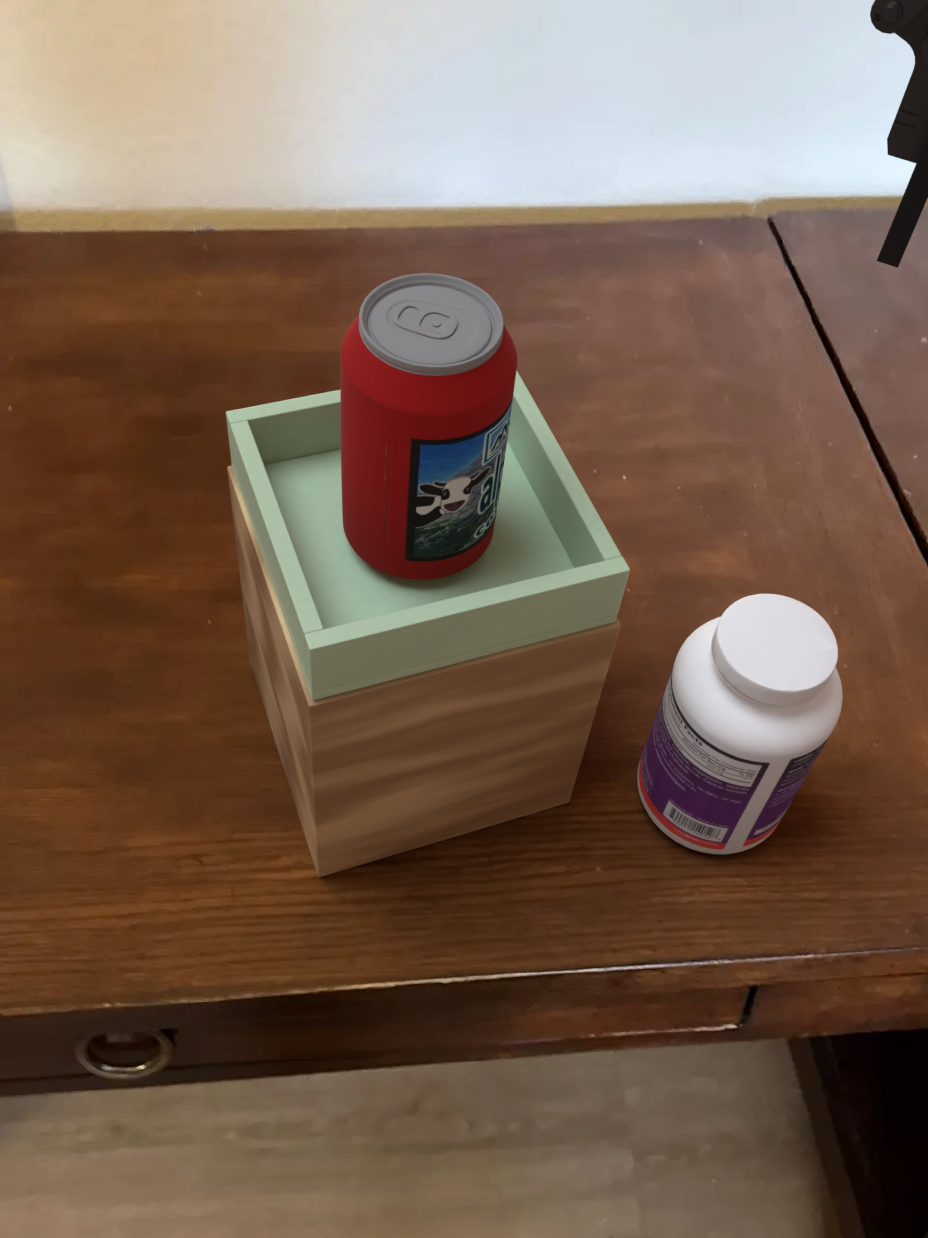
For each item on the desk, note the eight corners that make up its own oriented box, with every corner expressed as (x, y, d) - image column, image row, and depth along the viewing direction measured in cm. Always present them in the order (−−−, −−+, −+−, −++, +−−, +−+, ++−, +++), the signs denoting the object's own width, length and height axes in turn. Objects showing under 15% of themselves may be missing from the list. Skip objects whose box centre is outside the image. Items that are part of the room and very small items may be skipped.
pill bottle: (753, 725, 69) (831, 563, 58) (799, 852, 64) (896, 704, 53) (616, 740, 68) (669, 578, 56) (654, 871, 63) (720, 723, 52)
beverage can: (461, 612, 52) (485, 402, 42) (316, 561, 53) (308, 346, 43) (513, 505, 56) (547, 291, 46) (378, 460, 57) (383, 242, 47)
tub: (615, 622, 53) (630, 570, 50) (312, 701, 49) (309, 649, 46) (502, 412, 60) (509, 356, 57) (231, 468, 56) (225, 411, 54)
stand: (569, 803, 65) (621, 624, 53) (318, 878, 62) (308, 706, 49) (478, 606, 73) (504, 409, 60) (250, 662, 69) (226, 465, 57)
